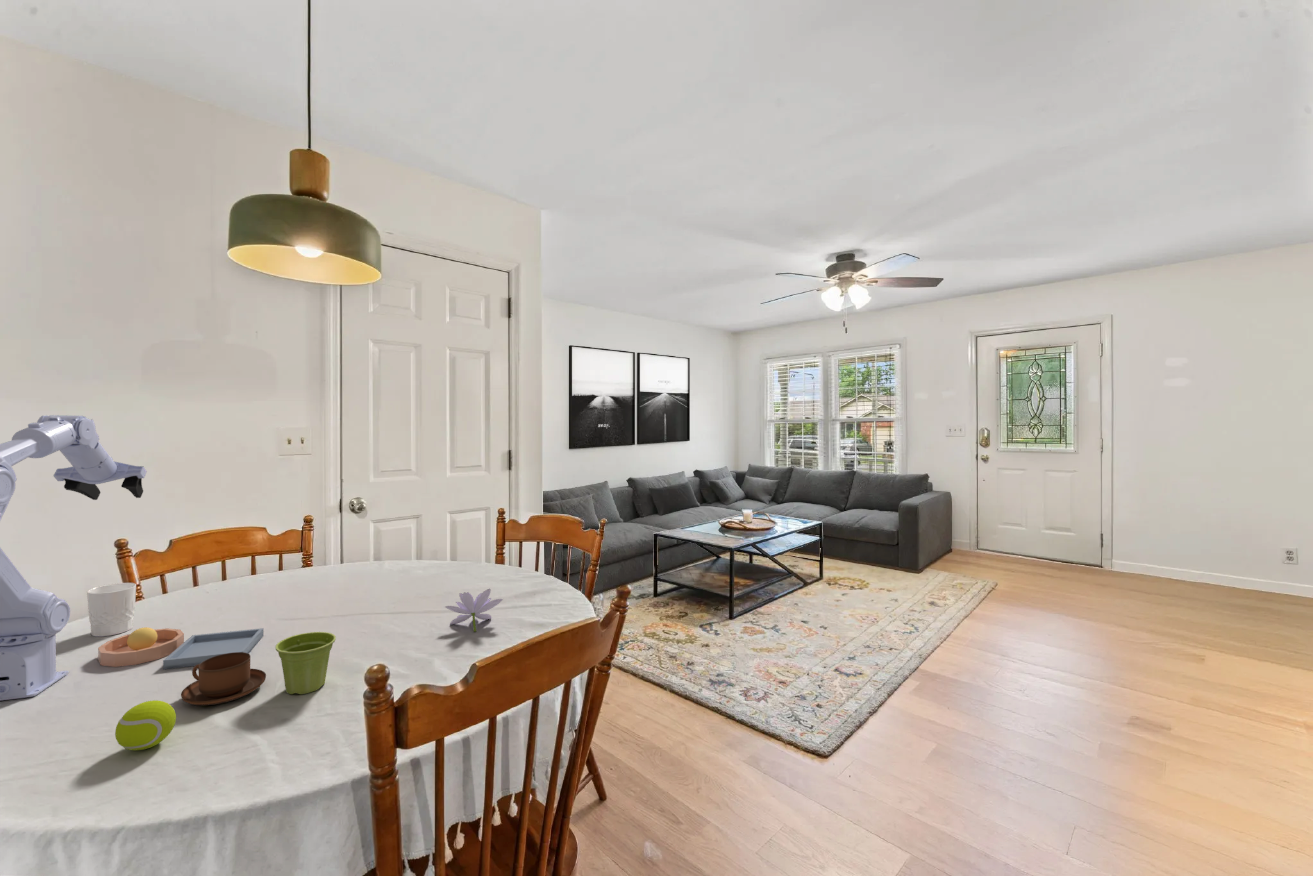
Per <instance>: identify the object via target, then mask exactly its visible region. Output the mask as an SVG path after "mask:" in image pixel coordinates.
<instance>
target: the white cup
mask: <svg viewBox="0 0 1313 876" xmlns="http://www.w3.org/2000/svg"><path fill="white" fill-rule="evenodd" d="M136 593H137V584H136V583H134V582H119V583H111V584H104V585H101V586H99V585H98V586H96V587H92V588H90V589H88V590H87V591H86V595H87V596H86V597H87V611H88V620H89V621H88V622H89V623H90V635H91V636H93V637H109V636H114V635H118V634H122V633H125V632H128V631H131V630H132V629H133V626H134V617H135V611H136V610H135V609H136V597H137V595H136Z"/></svg>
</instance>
